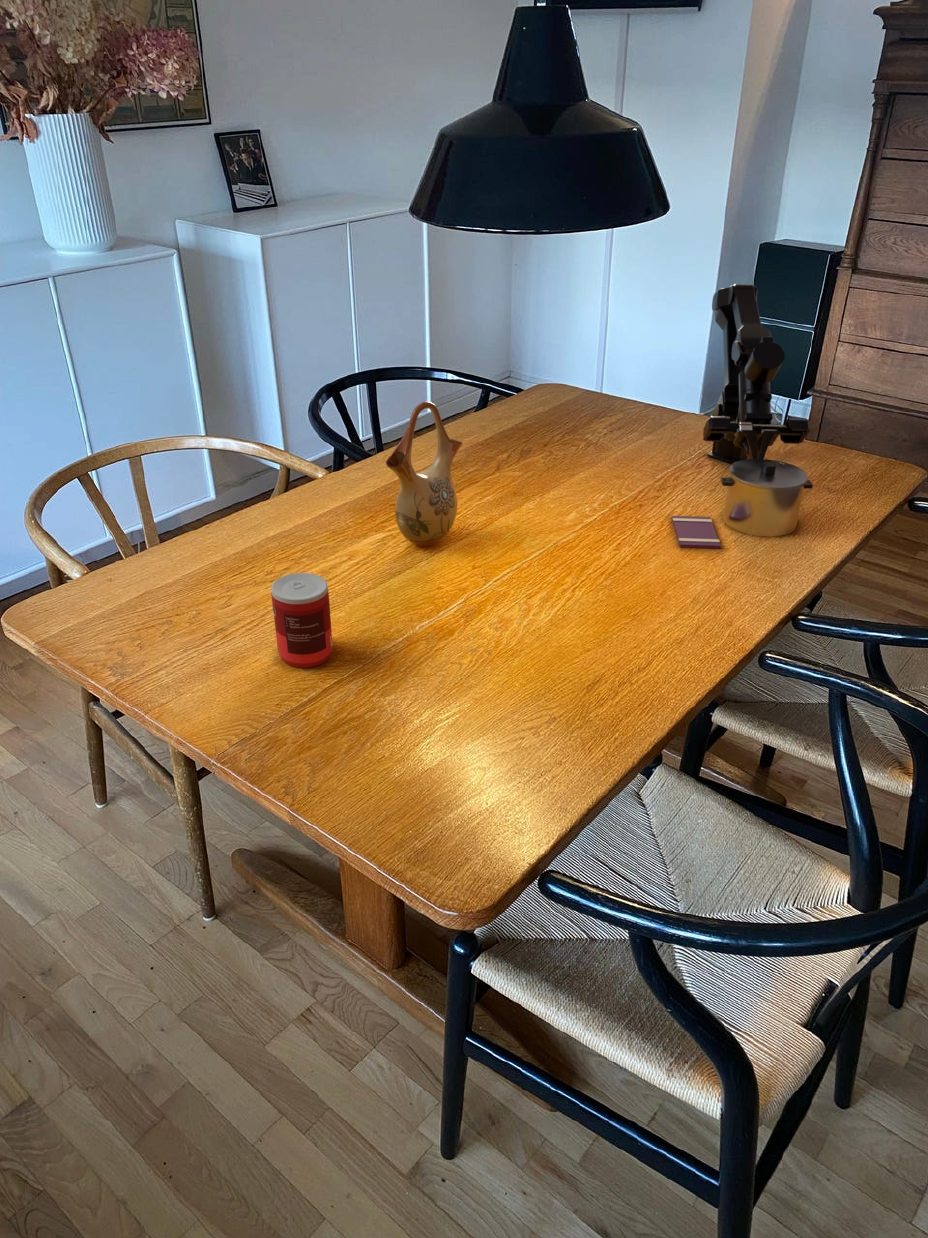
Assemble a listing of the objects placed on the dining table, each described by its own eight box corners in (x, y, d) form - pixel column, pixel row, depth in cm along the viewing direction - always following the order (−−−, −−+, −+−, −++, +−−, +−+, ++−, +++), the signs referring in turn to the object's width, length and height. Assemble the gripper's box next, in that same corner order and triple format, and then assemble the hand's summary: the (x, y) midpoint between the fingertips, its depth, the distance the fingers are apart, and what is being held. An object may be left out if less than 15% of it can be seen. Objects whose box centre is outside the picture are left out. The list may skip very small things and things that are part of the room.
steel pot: (709, 505, 177) (718, 449, 171) (793, 507, 176) (805, 451, 170) (721, 536, 165) (731, 477, 160) (812, 539, 164) (825, 479, 159)
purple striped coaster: (671, 518, 172) (671, 515, 171) (709, 519, 171) (710, 516, 171) (679, 547, 161) (680, 543, 161) (720, 548, 161) (721, 545, 161)
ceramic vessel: (410, 564, 155) (406, 419, 142) (375, 547, 161) (368, 406, 148) (477, 534, 165) (479, 396, 153) (442, 519, 171) (441, 385, 158)
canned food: (307, 633, 136) (300, 566, 131) (345, 652, 132) (340, 584, 126) (266, 655, 131) (258, 587, 126) (305, 675, 127) (298, 605, 121)
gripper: (791, 416, 185) (794, 489, 181) (697, 414, 186) (698, 486, 182) (809, 389, 174) (812, 466, 170) (708, 386, 175) (709, 463, 171)
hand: (756, 471), depth 174 cm, fingers closed
